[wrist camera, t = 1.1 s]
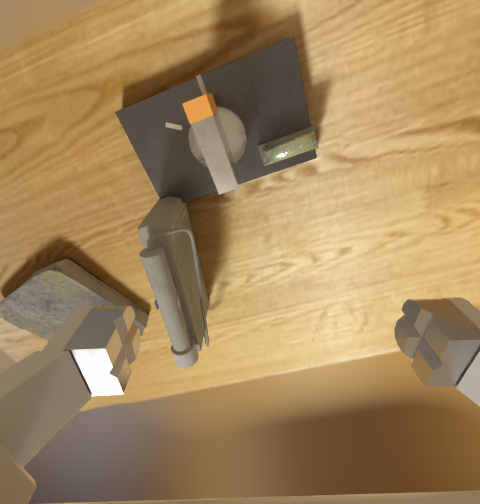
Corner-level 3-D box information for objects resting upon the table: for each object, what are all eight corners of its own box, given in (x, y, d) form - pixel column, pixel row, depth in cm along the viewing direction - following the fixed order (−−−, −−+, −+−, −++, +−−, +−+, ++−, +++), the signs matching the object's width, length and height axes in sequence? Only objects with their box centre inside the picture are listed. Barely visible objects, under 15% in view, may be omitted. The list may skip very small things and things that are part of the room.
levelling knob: (255, 161, 32) (258, 181, 25) (208, 177, 33) (199, 201, 26) (232, 85, 28) (228, 84, 21) (179, 107, 29) (160, 112, 22)
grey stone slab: (104, 353, 56) (157, 318, 49) (92, 373, 52) (148, 338, 45) (12, 294, 48) (59, 243, 42) (-10, 312, 44) (38, 259, 38)
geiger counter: (113, 242, 25) (176, 397, 38) (180, 235, 24) (221, 394, 37) (154, 192, 37) (192, 323, 50) (200, 187, 36) (226, 320, 49)
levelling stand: (292, 37, 28) (301, 27, 23) (314, 153, 34) (325, 163, 29) (121, 109, 31) (102, 113, 27) (169, 203, 37) (159, 218, 33)
